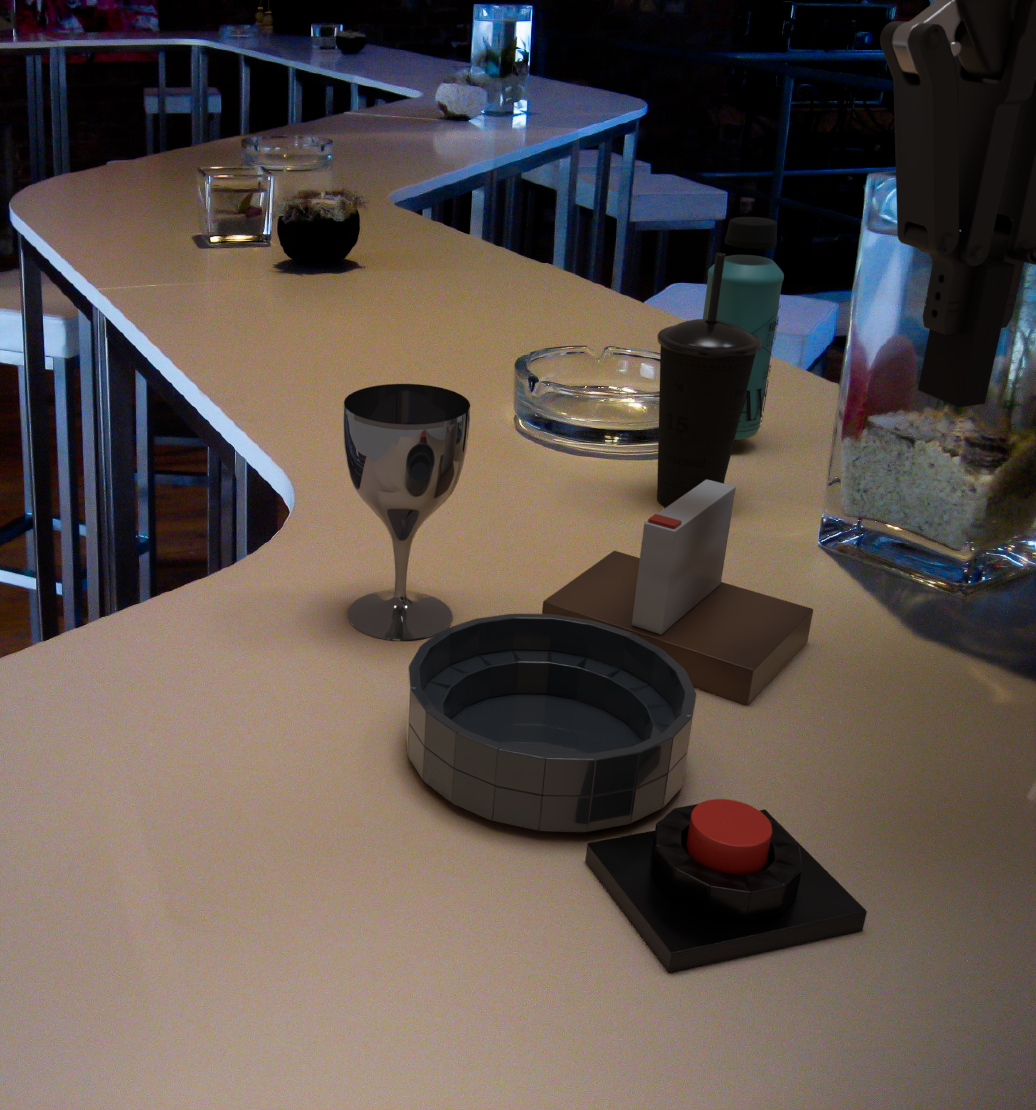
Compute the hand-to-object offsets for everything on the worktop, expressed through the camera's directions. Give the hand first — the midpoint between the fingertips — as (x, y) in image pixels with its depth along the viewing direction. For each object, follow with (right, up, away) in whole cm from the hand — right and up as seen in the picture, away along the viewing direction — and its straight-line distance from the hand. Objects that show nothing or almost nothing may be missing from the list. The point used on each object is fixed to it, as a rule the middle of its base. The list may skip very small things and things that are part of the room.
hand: (950, 396), depth 62 cm
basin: (-17, -19, +11) cm, 28 cm away
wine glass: (-24, -12, +26) cm, 38 cm away
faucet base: (-7, -13, +23) cm, 27 cm away
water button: (-11, -21, -1) cm, 24 cm away
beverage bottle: (+7, +2, +56) cm, 56 cm away
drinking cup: (+1, -3, +44) cm, 44 cm away
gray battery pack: (-7, -11, +22) cm, 25 cm away
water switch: (-11, -24, 0) cm, 26 cm away
